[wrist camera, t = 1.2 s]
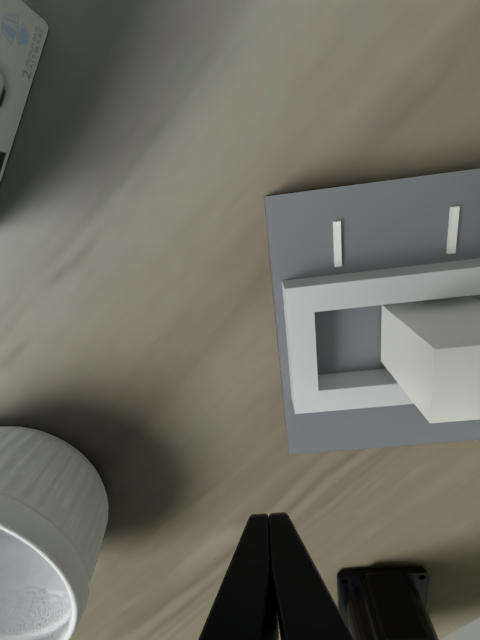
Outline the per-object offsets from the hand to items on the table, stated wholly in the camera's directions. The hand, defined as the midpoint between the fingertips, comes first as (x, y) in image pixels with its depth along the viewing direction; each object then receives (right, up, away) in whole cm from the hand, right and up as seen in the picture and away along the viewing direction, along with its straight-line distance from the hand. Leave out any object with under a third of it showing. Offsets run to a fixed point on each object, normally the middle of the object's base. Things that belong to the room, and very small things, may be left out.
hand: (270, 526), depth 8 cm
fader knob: (+8, +4, +9) cm, 13 cm away
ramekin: (-15, -7, +16) cm, 23 cm away
